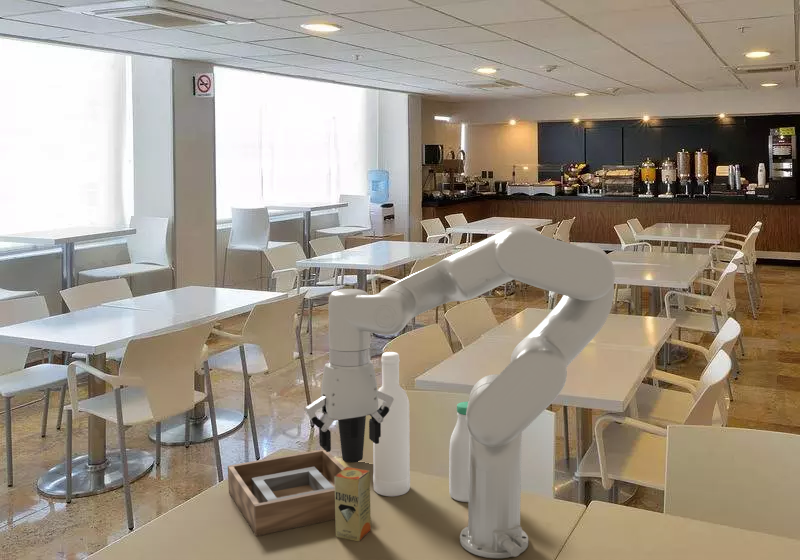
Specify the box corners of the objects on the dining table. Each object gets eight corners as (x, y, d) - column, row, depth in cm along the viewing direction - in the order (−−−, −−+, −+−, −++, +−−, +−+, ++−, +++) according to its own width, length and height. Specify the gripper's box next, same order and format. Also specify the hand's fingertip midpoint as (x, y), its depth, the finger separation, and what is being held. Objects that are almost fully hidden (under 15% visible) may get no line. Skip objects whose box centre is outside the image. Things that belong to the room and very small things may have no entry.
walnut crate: (363, 513, 159) (362, 484, 158) (256, 536, 150) (255, 506, 149) (325, 474, 179) (325, 448, 178) (228, 492, 170) (227, 465, 169)
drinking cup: (374, 456, 189) (373, 375, 186) (356, 467, 183) (355, 383, 180) (348, 450, 193) (347, 370, 190) (330, 460, 187) (328, 378, 184)
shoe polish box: (359, 541, 148) (358, 480, 146) (335, 536, 150) (334, 476, 148) (370, 529, 152) (369, 470, 150) (347, 525, 154) (346, 466, 152)
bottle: (367, 493, 169) (365, 356, 164) (382, 479, 176) (380, 347, 171) (401, 499, 166) (400, 360, 161) (415, 485, 173) (415, 351, 168)
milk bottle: (473, 506, 162) (474, 412, 159) (442, 497, 167) (442, 405, 163) (492, 493, 168) (493, 402, 165) (461, 484, 173) (462, 396, 170)
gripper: (384, 347, 153) (384, 432, 155) (298, 357, 145) (299, 446, 148) (400, 356, 146) (400, 444, 149) (311, 366, 139) (313, 460, 141)
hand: (350, 445), depth 148 cm, fingers open, 9 cm apart
